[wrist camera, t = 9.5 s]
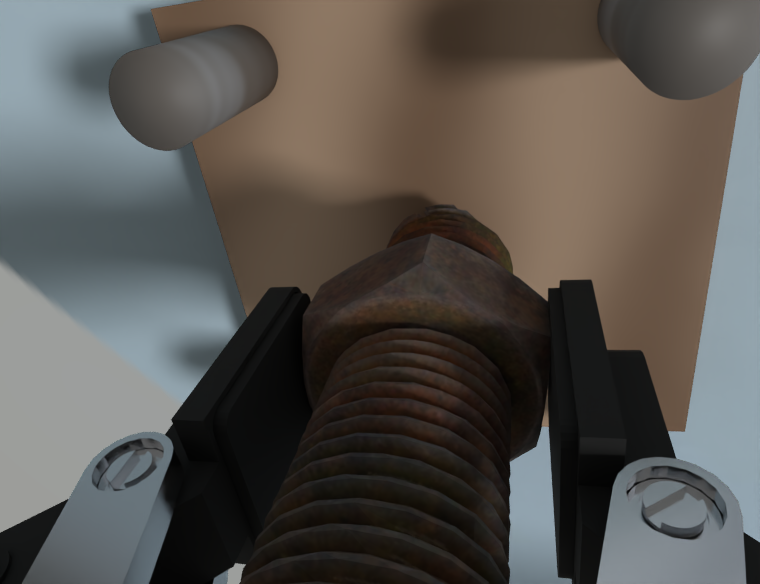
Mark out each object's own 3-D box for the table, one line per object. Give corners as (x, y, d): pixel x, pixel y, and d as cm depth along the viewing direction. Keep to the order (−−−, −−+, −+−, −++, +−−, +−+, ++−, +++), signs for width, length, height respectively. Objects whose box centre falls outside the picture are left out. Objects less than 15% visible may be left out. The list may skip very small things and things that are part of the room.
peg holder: (742, -92, 11) (896, -121, 7) (672, 397, 18) (727, 553, 13) (182, 3, 15) (29, 28, 10) (292, 388, 21) (229, 511, 16)
